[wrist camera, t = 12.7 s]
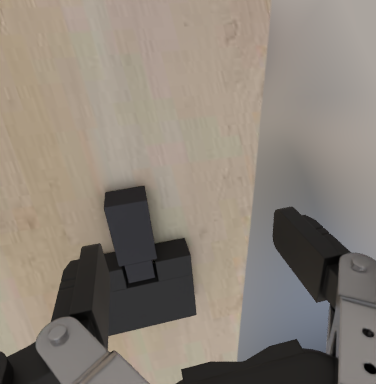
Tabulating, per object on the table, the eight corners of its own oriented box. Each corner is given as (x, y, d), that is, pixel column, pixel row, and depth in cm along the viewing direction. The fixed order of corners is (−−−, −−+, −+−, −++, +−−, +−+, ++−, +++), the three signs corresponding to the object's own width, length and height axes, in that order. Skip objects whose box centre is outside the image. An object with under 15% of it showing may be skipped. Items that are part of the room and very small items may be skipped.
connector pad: (144, 185, 38) (146, 200, 34) (156, 258, 43) (160, 276, 40) (105, 192, 37) (103, 207, 33) (123, 265, 43) (123, 284, 39)
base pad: (184, 237, 43) (190, 255, 39) (190, 295, 48) (196, 314, 45) (87, 257, 41) (84, 277, 37) (105, 315, 46) (104, 337, 43)
